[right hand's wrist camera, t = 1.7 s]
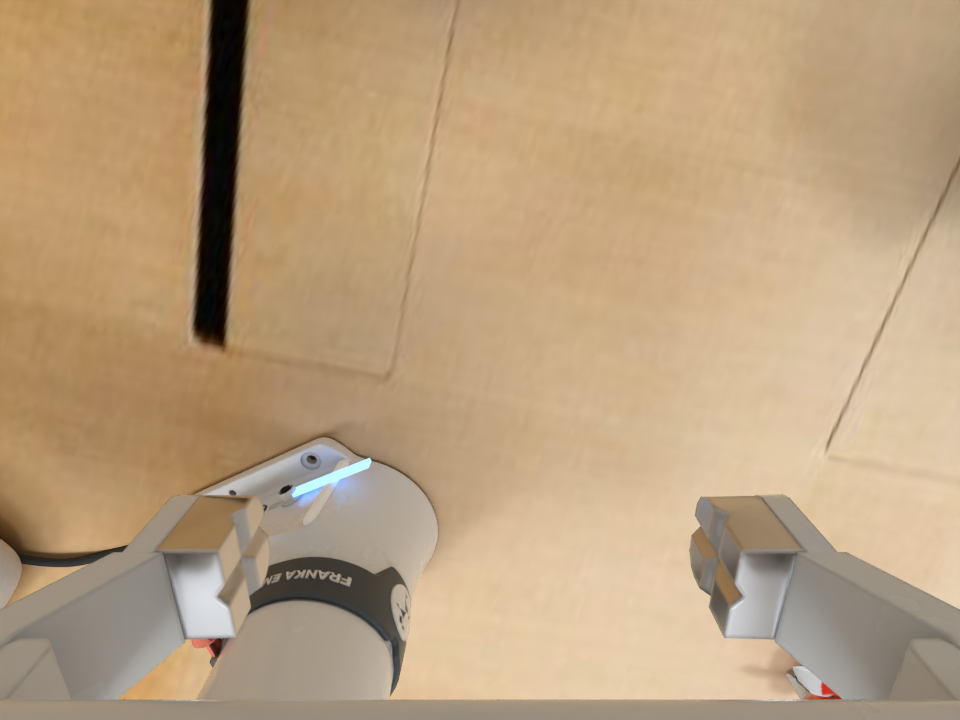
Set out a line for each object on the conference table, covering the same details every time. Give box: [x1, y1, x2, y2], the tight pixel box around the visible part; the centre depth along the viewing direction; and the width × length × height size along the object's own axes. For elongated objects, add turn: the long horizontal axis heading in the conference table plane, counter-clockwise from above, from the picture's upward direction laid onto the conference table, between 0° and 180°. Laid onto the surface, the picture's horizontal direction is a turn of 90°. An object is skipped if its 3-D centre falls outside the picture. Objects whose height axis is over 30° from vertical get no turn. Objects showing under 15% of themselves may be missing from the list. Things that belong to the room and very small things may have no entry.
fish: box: [786, 666, 842, 700], centre depth 50 cm, size 11×16×10 cm
